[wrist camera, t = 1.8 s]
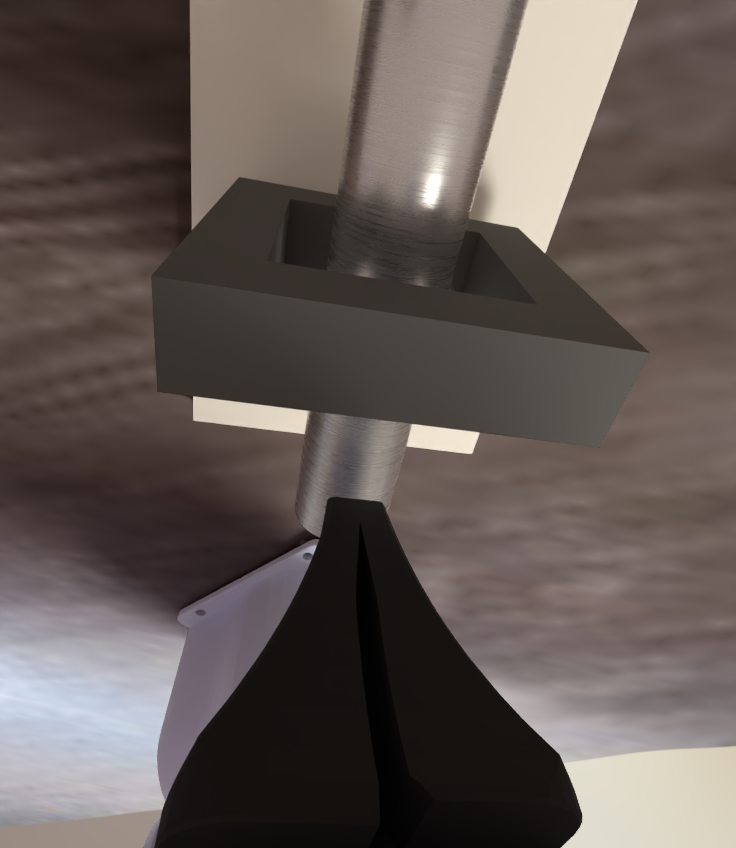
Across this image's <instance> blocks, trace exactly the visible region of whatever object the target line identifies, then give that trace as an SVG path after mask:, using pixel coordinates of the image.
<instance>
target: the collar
mask: <svg viewBox="0 0 736 848" xmlns="http://www.w3.org/2000/svg"><path fill="white" fill-rule="evenodd" d="M336 200H337V195H336V194H330V193H325V192H319V191H314V190H308V189H303V188H297V187H292V186H286V185H281V184H275V183H270V182H265V181H259V180H254V179H248V178H243V177H239V178H238V179H237V180H236V181H235V182H234V183H233V184H232V186H231V187H230V188H229V189H228V190H227V191H226V192H225V194H224V195H223V196H222V197H221V198H220V199H219V200H218V201H217V203H216V204H215V205H214V206H213V207H212V208H211V209H210V210H209V212H208V213H207V214H206V215H205V216H204V217H203V218H202V219H201V221H200V222H199V223H198V224H197V225H196V226H195V227H194V228H193V230H192V231H191V232H190V233H189V234H188V235H187V236H186V237H185V239H184V240H183V241H182V242H181V243H180V244H179V245H178V246H177V248H176V249H175V250H174V251H173V252H172V253H171V254H170V255H169V257H168V258H167V259H166V260H165V261H164V262H163V263H162V264H161V266H160V267H159V268H158V269H157V270H156V271H155V272H154V273H153V275H152V276H151V280H152V299H153V318H154V337H155V355H156V374H157V392H163V393H171V394H179V395H187V396H195V397H202V398H210V399H218V400H226V401H234V402H242V403H250V404H258V405H266V406H274V407H281V408H289V409H297V410H305V411H313V412H321V413H329V414H337V415H345V416H353V417H361V418H368V419H376V420H384V421H392V422H400V423H408V424H416V425H424V426H432V427H440V428H447V429H455V430H463V431H471V432H479V433H487V434H495V435H503V436H511V437H519V438H527V439H534V440H542V441H550V442H558V443H566V444H574V445H582V446H590V447H598V448H600V446H601V444H602V442H603V440H604V438H605V436H606V434H607V433H608V431H609V429H610V427H611V425H612V423H613V421H614V419H615V418H616V416H617V414H618V412H619V410H620V408H621V406H622V404H623V402H624V401H625V399H626V397H627V395H628V393H629V391H630V389H631V387H632V386H633V384H634V382H635V380H636V378H637V376H638V374H639V372H640V371H641V369H642V367H643V365H644V363H645V361H646V359H647V357H648V356H649V354H650V353H649V352H648V351H647V350H646V349H645V348H644V347H643V346H642V345H641V344H640V343H639V342H638V341H637V340H636V339H635V338H634V337H632V336H631V335H630V334H629V333H628V332H627V331H626V330H625V329H624V328H623V327H622V326H621V325H620V324H619V323H618V322H617V321H616V320H615V319H613V318H612V317H611V316H610V315H609V314H608V313H607V312H606V311H605V310H604V309H603V308H602V307H601V306H600V305H599V304H598V303H597V302H596V301H595V300H593V299H592V298H591V297H590V296H589V295H588V294H587V293H586V292H585V291H584V290H583V289H582V288H581V287H580V286H579V285H578V284H577V283H576V282H575V281H573V280H572V279H571V278H570V277H569V276H568V275H567V274H566V273H565V272H564V271H563V270H562V269H561V268H560V267H559V266H558V265H557V264H556V263H554V262H553V261H552V260H551V259H550V258H549V257H548V256H547V255H546V254H545V253H544V252H543V251H542V250H541V249H540V248H539V247H538V246H537V245H536V244H534V243H533V242H532V241H531V240H530V239H529V238H528V237H527V236H526V235H525V234H524V233H523V232H522V231H521V230H520V229H519V228H516V227H511V226H505V225H500V224H494V223H489V222H483V221H478V220H473V219H469V220H468V224H467V227H466V231H465V235H464V238H463V242H462V245H461V249H460V253H459V256H458V260H457V264H456V267H455V271H454V275H453V278H452V282H451V285H450V289H449V290H443V289H437V288H431V287H425V286H419V285H413V284H406V283H400V282H394V281H388V280H382V279H376V278H370V277H363V276H357V275H351V274H345V273H339V272H333V271H327V266H328V258H329V251H330V244H331V236H332V229H333V222H334V215H335V207H336Z"/></svg>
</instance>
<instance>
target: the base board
mask: <svg viewBox="0 0 736 848" xmlns="http://www.w3.org/2000/svg"><path fill="white" fill-rule="evenodd" d="M637 1H638V0H529V1H528V5H527V9H526V12H525V16H524V20H523V23H522V27H521V31H520V34H519V38H518V42H517V45H516V49H515V52H514V56H513V60H512V63H511V67H510V71H509V74H508V78H507V82H506V85H505V89H504V92H503V96H502V100H501V103H500V107H499V111H498V114H497V118H496V122H495V125H494V129H493V133H492V136H491V140H490V143H489V147H488V151H487V154H486V158H485V162H484V165H483V169H482V173H481V176H480V180H479V184H478V187H477V191H476V194H475V198H474V202H473V205H472V209H471V213H470V216H469V219H473V220H478V221H483V222H489V223H494V224H500V225H505V226H511V227H516V228H519V229H520V230H521V231H522V232H523V233H524V234H525V235H526V236H527V237H528V238H529V239H530V240H531V241H532V242H533V243H534V244H536V245H537V246H538V247H539V248H540V249H541V250H542V251H543V252H544V253H546V250H547V247H548V245H549V242H550V239H551V236H552V234H553V231H554V228H555V225H556V223H557V220H558V217H559V214H560V212H561V209H562V206H563V204H564V201H565V198H566V195H567V193H568V190H569V187H570V184H571V182H572V179H573V176H574V173H575V171H576V168H577V165H578V162H579V160H580V157H581V154H582V152H583V149H584V146H585V143H586V141H587V138H588V135H589V132H590V130H591V127H592V124H593V121H594V119H595V116H596V113H597V111H598V108H599V105H600V102H601V100H602V97H603V94H604V91H605V89H606V86H607V83H608V80H609V78H610V75H611V72H612V69H613V67H614V64H615V61H616V59H617V56H618V53H619V50H620V48H621V45H622V42H623V39H624V37H625V34H626V31H627V28H628V26H629V23H630V20H631V18H632V15H633V12H634V9H635V7H636V4H637ZM363 3H364V0H190V86H191V203H192V230H193V228H194V227H195V226H196V225H197V224H198V223H199V222H200V221H201V219H202V218H203V217H204V216H205V215H206V214H207V213H208V212H209V210H210V209H211V208H212V207H213V206H214V205H215V204H216V203H217V201H218V200H219V199H220V198H221V197H222V196H223V195H224V194H225V192H226V191H227V190H228V189H229V188H230V187H231V186H232V184H233V183H234V182H235V181H236V180H237V179H238V178H239V177H243V178H248V179H254V180H259V181H265V182H270V183H275V184H281V185H286V186H292V187H297V188H303V189H308V190H314V191H319V192H325V193H330V194H336V195H337V193H338V185H339V178H340V171H341V163H342V156H343V149H344V141H345V134H346V127H347V119H348V112H349V105H350V98H351V90H352V83H353V76H354V68H355V61H356V54H357V46H358V39H359V32H360V24H361V17H362V10H363ZM307 412H308V411H305V410H297V409H289V408H281V407H274V406H266V405H258V404H250V403H242V402H234V401H226V400H218V399H210V398H202V397H195V396H193V421H202V422H210V423H218V424H226V425H235V426H243V427H251V428H260V429H268V430H276V431H285V432H293V433H301V434H305V426H306V419H307ZM478 436H479V432H471V431H463V430H455V429H447V428H440V427H432V426H424V425H416V424H412V428H411V431H410V435H409V438H408V442H407V446H409V447H417V448H426V449H434V450H442V451H450V452H459V453H467V454H472V452H473V450H474V447H475V444H476V441H477V439H478Z"/></svg>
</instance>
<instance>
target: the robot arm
mask: <svg viewBox="0 0 736 848" xmlns="http://www.w3.org/2000/svg"><path fill="white" fill-rule="evenodd" d="M306 553H310V554H306ZM177 620H178V621H179V622H180V623H181V624H182V625H184V626H185V627H187V628H189V630H188V633H187V637H186V641H185V644H184V648H183V652H182V656H181V659H180V663H179V667H178V670H177V674H176V678H175V681H174V685H173V689H172V693H171V696H170V700H169V704H168V707H167V711H166V715H165V718H164V722H163V726H162V730H161V733H160V738H159V744H158V755H157V761H158V775H159V781H160V786H161V790H162V793H163V796H164V799H165V804H164V807H163V810H162V814H161V818H160V819H159V820H158V821H157V822H156V823H155V824H154V825H153V826H152V828H151V830H150V832H149V834H148V836H147V839H146V841H145V844H144V847H143V848H561V847H562V846H563V845H564V844H565V843H566V842H567V841H568V840H569V839H570V838H571V837H572V836H573V835H574V834H575V833H576V831H577V830H578V829H579V827H580V825H581V823H582V812H581V809H580V806H579V803H578V800H577V797H576V793H575V790H574V788H573V786H572V783H571V780H570V778H569V775H568V773H567V771H566V769H565V766H564V764H563V762H562V759H561V757H560V755H559V754H558V753H557V752H556V751H555V750H554V749H553V748H552V747H551V746H550V745H549V744H548V743H547V742H546V741H545V740H544V739H543V738H542V737H541V736H539V735H538V734H537V733H536V732H535V731H534V730H533V729H532V728H531V727H530V726H529V725H528V724H527V723H526V722H525V721H524V720H523V719H522V718H521V717H520V716H519V715H518V714H517V713H516V711H515V710H514V709H513V708H512V707H511V706H510V705H509V704H508V703H507V702H506V701H505V700H504V698H503V697H502V696H501V695H500V694H499V693H498V692H497V690H496V689H495V688H494V687H493V686H492V685H491V683H490V682H489V681H488V680H487V679H486V677H485V676H484V675H483V674H482V673H481V671H480V670H479V669H478V668H477V667H476V665H475V664H474V663H473V662H472V661H471V659H470V658H469V657H468V655H467V654H466V653H465V651H464V650H463V649H462V647H461V646H460V645H459V643H458V642H457V640H456V639H455V638H454V636H453V635H452V633H451V632H450V631H449V629H448V628H447V626H446V625H445V623H444V622H443V620H442V619H441V617H440V616H439V614H438V613H437V611H436V609H435V608H434V606H433V605H432V603H431V601H430V599H429V598H428V596H427V594H426V593H425V591H424V589H423V588H422V586H421V584H420V582H419V580H418V579H417V577H416V575H415V573H414V571H413V569H412V567H411V565H410V563H409V561H408V559H407V557H406V555H405V553H404V551H403V549H402V547H401V545H400V543H399V540H398V538H397V536H396V534H395V531H394V529H393V527H392V524H391V522H390V519H389V517H388V514H387V511H386V508H385V506H384V504H383V503H382V502H380V501H370V500H361V499H351V498H342V497H331V498H329V499H327V504H326V509H325V515H324V520H323V526H322V531H321V535H320V538H319V539H313V540H310V541H308V542H307V543H305V544H303V545H301V546H299V547H297V548H295V549H293V550H292V551H290V552H288V553H286V554H284V555H282V556H280V557H279V558H277V559H275V560H273V561H271V562H269V563H267V564H266V565H264V566H262V567H260V568H258V569H256V570H254V571H252V572H251V573H249V574H247V575H245V576H243V577H241V578H239V579H238V580H236V581H234V582H232V583H230V584H228V585H226V586H225V587H223V588H221V589H219V590H217V591H215V592H213V593H211V594H210V595H208V596H206V597H204V598H202V599H200V600H198V601H197V602H195V603H193V604H191V605H189V606H187V607H185V608H184V609H182V610H180V611H179V614H178V617H177Z"/></svg>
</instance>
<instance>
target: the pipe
mask: <svg viewBox="0 0 736 848" xmlns="http://www.w3.org/2000/svg"><path fill="white" fill-rule="evenodd" d="M528 1H529V0H364V3H363V10H362V17H361V24H360V32H359V39H358V46H357V54H356V61H355V68H354V76H353V83H352V90H351V98H350V105H349V112H348V119H347V127H346V134H345V141H344V149H343V156H342V163H341V171H340V178H339V185H338V193H337V200H336V207H335V215H334V222H333V229H332V236H331V244H330V251H329V258H328V266H327V271H333V272H339V273H345V274H351V275H357V276H363V277H370V278H376V279H382V280H388V281H394V282H400V283H406V284H413V285H419V286H425V287H431V288H437V289H443V290H449V289H450V285H451V282H452V278H453V275H454V271H455V267H456V264H457V260H458V256H459V253H460V249H461V245H462V242H463V238H464V235H465V231H466V227H467V224H468V220H469V216H470V213H471V209H472V205H473V202H474V198H475V194H476V191H477V187H478V184H479V180H480V176H481V173H482V169H483V165H484V162H485V158H486V154H487V151H488V147H489V143H490V140H491V136H492V133H493V129H494V125H495V122H496V118H497V114H498V111H499V107H500V103H501V100H502V96H503V92H504V89H505V85H506V82H507V78H508V74H509V71H510V67H511V63H512V60H513V56H514V52H515V49H516V45H517V42H518V38H519V34H520V31H521V27H522V23H523V20H524V16H525V12H526V9H527V5H528ZM411 428H412V424H408V423H400V422H392V421H384V420H376V419H368V418H361V417H353V416H345V415H337V414H329V413H321V412H313V411H308V412H307V419H306V426H305V434H304V441H303V448H302V456H301V463H300V470H299V478H298V485H297V492H296V500H295V512H296V515H297V518H298V519H299V521H300V523H301V524H302V525H303V526H304V527H305V528H306V529H307V530H308V531H309V532H311V533H312V534H314V535H315V536H317V537H319V538H320V535H321V531H322V526H323V520H324V515H325V509H326V504H327V499H329V498H331V497H342V498H351V499H361V500H370V501H380V502H382V503H383V504H384V506H385V508H386V511H387V514H388V511H389V508H390V504H391V500H392V497H393V493H394V489H395V486H396V482H397V478H398V475H399V471H400V468H401V464H402V460H403V457H404V453H405V449H406V446H407V442H408V438H409V435H410V431H411Z"/></svg>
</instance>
